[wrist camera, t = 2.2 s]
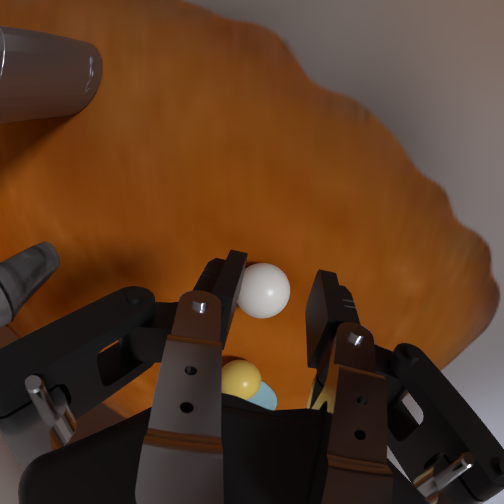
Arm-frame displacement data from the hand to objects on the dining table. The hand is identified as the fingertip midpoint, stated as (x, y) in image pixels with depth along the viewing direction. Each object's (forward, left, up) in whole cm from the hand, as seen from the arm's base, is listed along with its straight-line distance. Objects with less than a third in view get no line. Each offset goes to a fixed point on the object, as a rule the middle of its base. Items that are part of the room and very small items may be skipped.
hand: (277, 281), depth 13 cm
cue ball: (0, -10, -14) cm, 17 cm away
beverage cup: (-30, -15, -17) cm, 38 cm away
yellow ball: (0, -24, -14) cm, 28 cm away
